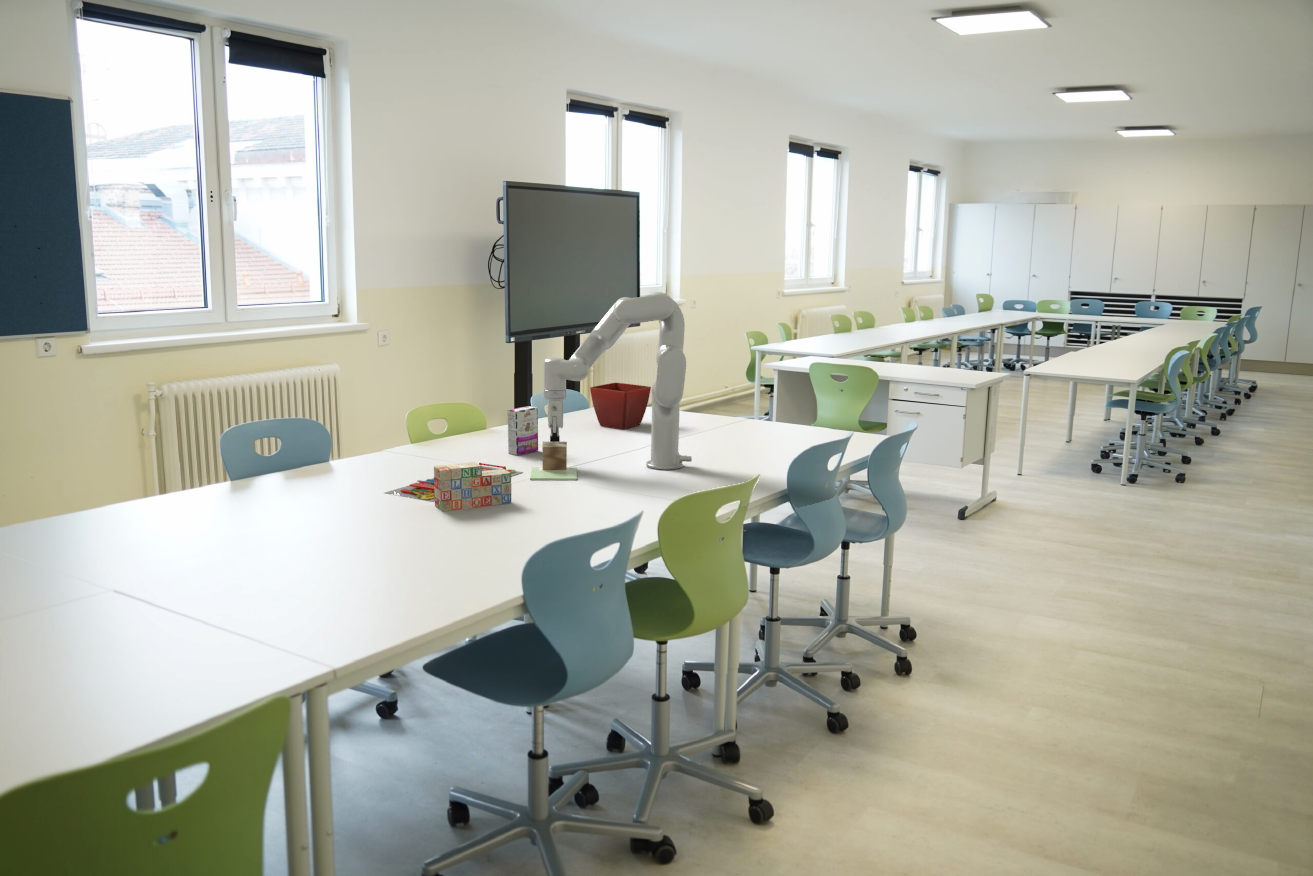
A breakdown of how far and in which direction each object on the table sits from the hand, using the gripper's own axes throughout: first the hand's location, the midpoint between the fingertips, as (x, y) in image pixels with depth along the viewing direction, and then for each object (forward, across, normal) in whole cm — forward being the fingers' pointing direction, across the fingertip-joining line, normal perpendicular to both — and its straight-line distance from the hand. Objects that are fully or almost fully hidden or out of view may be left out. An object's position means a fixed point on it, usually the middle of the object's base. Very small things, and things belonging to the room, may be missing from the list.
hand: (554, 447), depth 338 cm
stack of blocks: (+7, -52, +22) cm, 57 cm away
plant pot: (+7, +77, -26) cm, 82 cm away
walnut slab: (+6, -8, 0) cm, 10 cm away
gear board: (+7, -24, +30) cm, 40 cm away
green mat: (+7, -13, 0) cm, 14 cm away
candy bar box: (+7, +22, +12) cm, 26 cm away
